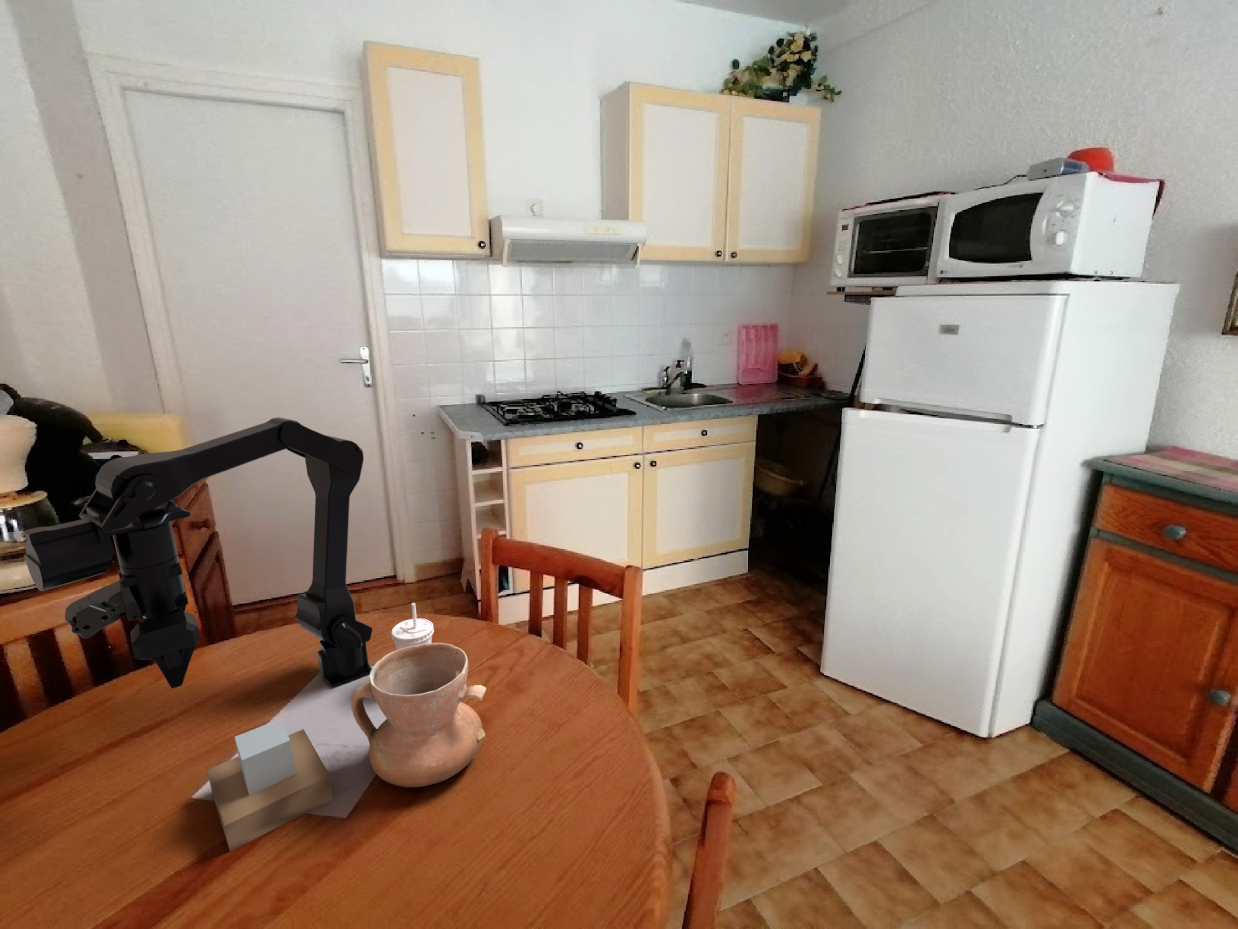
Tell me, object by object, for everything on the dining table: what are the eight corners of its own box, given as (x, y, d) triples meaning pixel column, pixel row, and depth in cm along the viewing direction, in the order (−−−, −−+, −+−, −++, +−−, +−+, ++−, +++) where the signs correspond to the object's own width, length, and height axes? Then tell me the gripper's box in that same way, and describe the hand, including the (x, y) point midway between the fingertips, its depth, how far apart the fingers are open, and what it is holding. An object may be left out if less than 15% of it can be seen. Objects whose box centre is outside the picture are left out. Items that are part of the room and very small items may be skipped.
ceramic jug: (505, 725, 87) (498, 638, 83) (473, 805, 73) (464, 704, 69) (386, 720, 88) (375, 634, 85) (332, 797, 74) (316, 697, 71)
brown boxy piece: (307, 753, 82) (303, 729, 81) (333, 802, 74) (329, 775, 73) (212, 796, 75) (207, 769, 74) (230, 854, 67) (224, 826, 66)
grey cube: (241, 771, 74) (234, 737, 72) (286, 751, 77) (280, 718, 75) (249, 795, 70) (241, 760, 69) (296, 774, 73) (290, 740, 72)
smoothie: (425, 696, 93) (418, 615, 90) (388, 690, 95) (379, 611, 91) (445, 672, 99) (438, 596, 96) (410, 667, 101) (402, 592, 97)
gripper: (64, 552, 76) (92, 660, 80) (57, 608, 62) (91, 736, 66) (172, 531, 83) (193, 632, 87) (188, 578, 69) (211, 695, 73)
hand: (173, 669), depth 78 cm, fingers open, 9 cm apart
